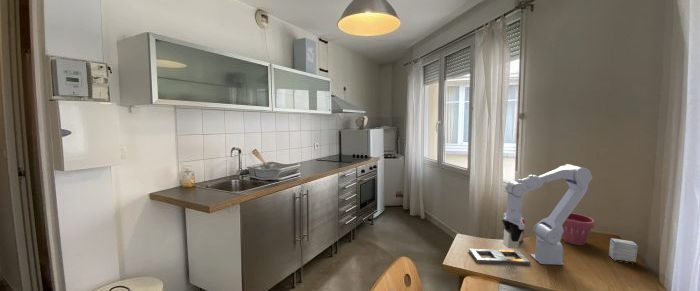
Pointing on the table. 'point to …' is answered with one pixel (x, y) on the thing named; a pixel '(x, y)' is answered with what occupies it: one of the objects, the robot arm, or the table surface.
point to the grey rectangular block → (509, 239)
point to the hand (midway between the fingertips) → (512, 238)
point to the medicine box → (623, 250)
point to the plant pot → (577, 228)
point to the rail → (499, 256)
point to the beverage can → (522, 232)
